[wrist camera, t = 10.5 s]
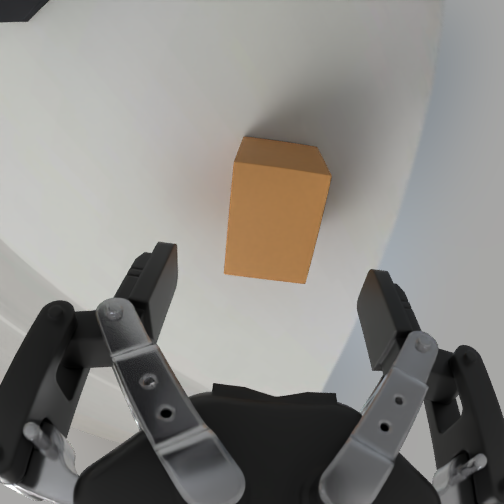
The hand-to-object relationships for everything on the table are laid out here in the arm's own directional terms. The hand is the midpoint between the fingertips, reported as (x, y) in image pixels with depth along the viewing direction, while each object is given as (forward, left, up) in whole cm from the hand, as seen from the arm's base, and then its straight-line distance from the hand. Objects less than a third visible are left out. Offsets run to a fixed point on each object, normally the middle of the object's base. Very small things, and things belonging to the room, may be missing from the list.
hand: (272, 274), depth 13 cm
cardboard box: (0, 0, -9) cm, 9 cm away
